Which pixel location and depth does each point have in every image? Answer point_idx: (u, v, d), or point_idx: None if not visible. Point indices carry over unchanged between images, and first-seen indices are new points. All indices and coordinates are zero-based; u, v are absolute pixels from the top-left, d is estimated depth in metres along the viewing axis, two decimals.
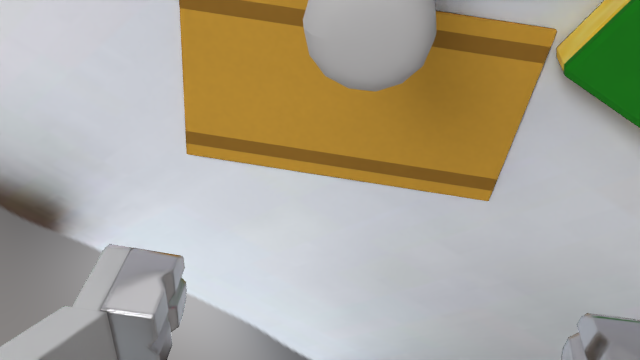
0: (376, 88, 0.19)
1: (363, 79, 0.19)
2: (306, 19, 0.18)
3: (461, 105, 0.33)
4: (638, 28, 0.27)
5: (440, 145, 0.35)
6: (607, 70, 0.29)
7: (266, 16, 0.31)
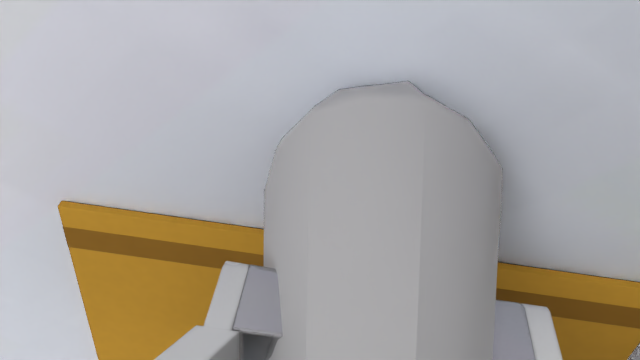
0: None
1: None
2: None
3: None
4: None
5: None
6: None
7: (203, 261, 0.20)
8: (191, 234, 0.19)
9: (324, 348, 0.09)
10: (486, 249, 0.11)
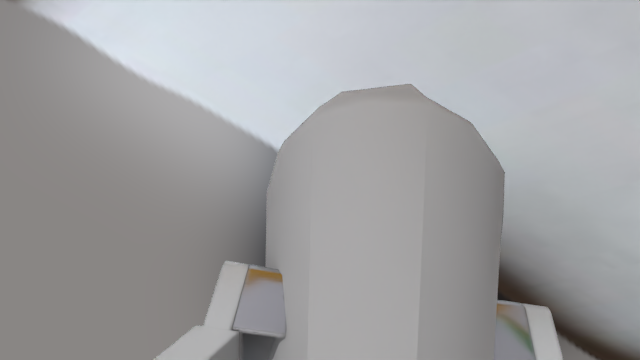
0: None
1: None
2: None
3: None
4: None
5: None
6: None
7: None
8: None
9: (325, 350, 0.09)
10: (488, 252, 0.11)
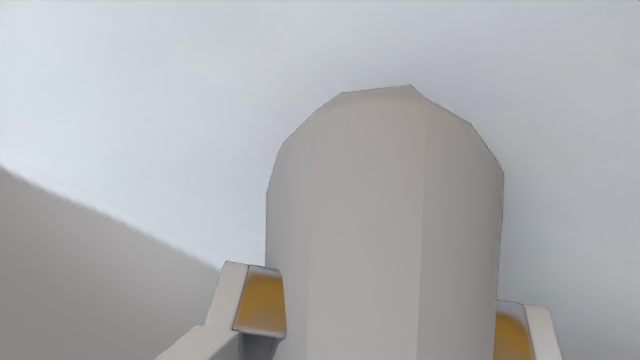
0: None
1: None
2: None
3: None
4: None
5: None
6: None
7: None
8: None
9: (325, 351, 0.09)
10: (488, 253, 0.11)
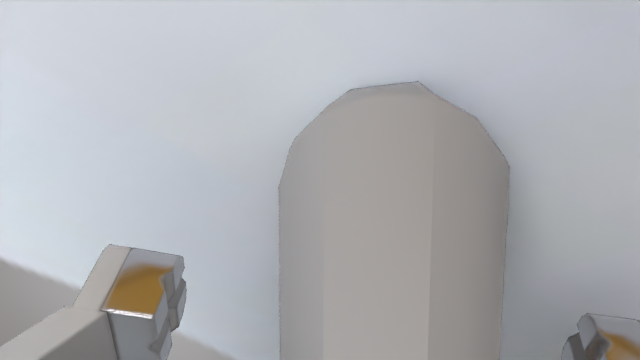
0: None
1: None
2: None
3: None
4: None
5: None
6: None
7: None
8: None
9: (340, 334, 0.10)
10: (494, 242, 0.12)
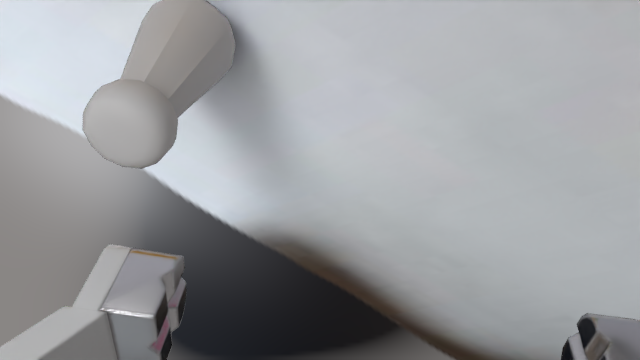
0: (138, 167, 0.28)
1: (126, 162, 0.28)
2: (83, 123, 0.27)
3: None
4: None
5: None
6: None
7: None
8: None
9: (134, 58, 0.30)
10: (205, 44, 0.32)
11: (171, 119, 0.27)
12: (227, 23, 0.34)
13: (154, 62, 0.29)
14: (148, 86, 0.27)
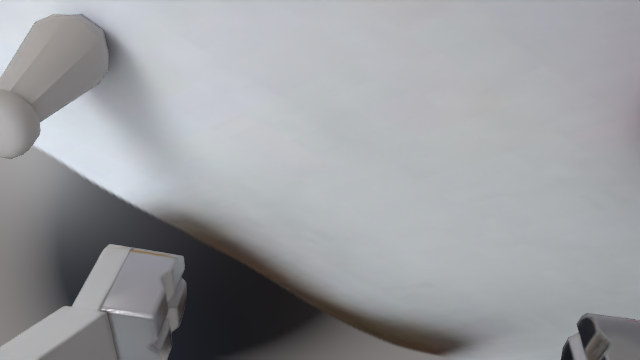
0: (7, 157, 0.35)
1: None
2: None
3: None
4: None
5: None
6: None
7: None
8: None
9: (9, 69, 0.37)
10: (73, 56, 0.39)
11: (30, 120, 0.35)
12: (98, 37, 0.41)
13: (22, 73, 0.36)
14: (10, 94, 0.34)
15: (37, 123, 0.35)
